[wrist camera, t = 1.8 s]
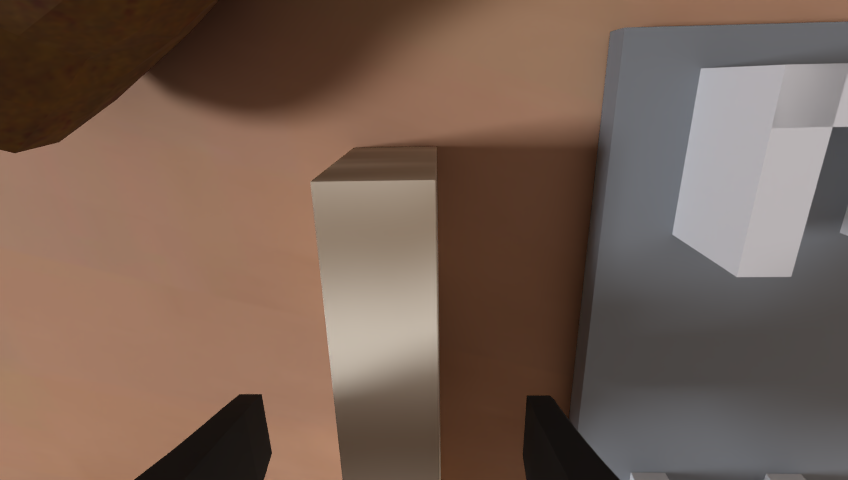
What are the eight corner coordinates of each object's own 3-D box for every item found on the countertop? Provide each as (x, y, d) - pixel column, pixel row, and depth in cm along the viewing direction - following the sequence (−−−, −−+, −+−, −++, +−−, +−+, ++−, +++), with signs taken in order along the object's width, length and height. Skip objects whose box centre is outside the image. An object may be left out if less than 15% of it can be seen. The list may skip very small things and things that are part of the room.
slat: (440, 493, 18) (441, 636, 14) (380, 492, 18) (359, 634, 14) (436, 145, 14) (435, 180, 9) (354, 146, 14) (310, 182, 9)
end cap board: (798, 556, 19) (890, 678, 15) (554, 552, 19) (583, 670, 15) (995, 21, 12) (1256, -6, 8) (610, 31, 12) (687, 10, 8)
